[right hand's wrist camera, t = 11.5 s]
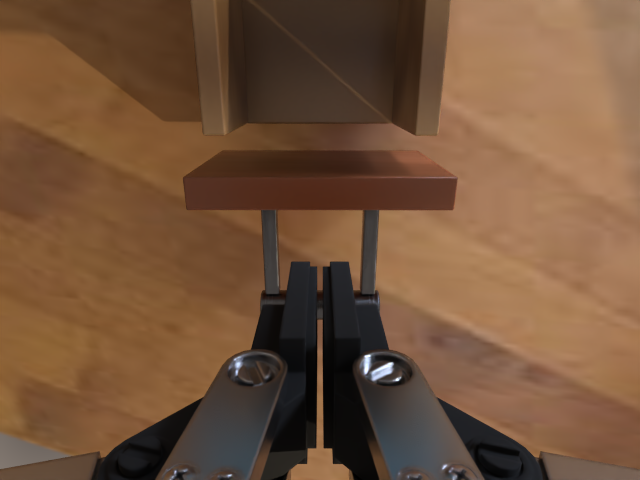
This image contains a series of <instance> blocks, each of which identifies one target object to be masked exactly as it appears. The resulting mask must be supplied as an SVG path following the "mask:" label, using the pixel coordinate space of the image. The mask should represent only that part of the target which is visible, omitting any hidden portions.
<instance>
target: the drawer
mask: <svg viewBox="0 0 640 480" xmlns="http://www.w3.org/2000/svg"><path fill="white" fill-rule="evenodd" d="M190 3H191V14H192V25H193V35H194V46H195V56H196V67H197V78H198V88H199V99H200V110H201V120H202V131H203V134H204V135H206V136H224V135H226V134H228V133H230V132H232V131H233V130H235V129H237V128H239V127H241V126H243V125H245V124H247V123H393V124H394V125H396V126H398V127H400V128H402V129H404V130H406V131H408V132H410V133H412V134H414V135H416V136H437V135H438V130H439V120H440V109H441V99H442V89H443V78H444V68H445V58H446V47H447V37H448V27H449V16H450V6H451V0H190ZM457 179H458V178H457V177H456V176H454V175H453V174H451V173H450V172H448V171H447V170H445V169H444V168H442V167H441V166H439V165H438V164H437V163H435V162H434V161H432V160H431V159H429V158H428V157H426V156H425V155H423V154H422V153H420V152H419V151H221V152H220V153H218V154H217V155H215V156H214V157H212V158H211V159H210V160H208V161H207V162H205V163H204V164H202V165H201V166H199V167H198V168H196V169H195V170H193V171H192V172H190V173H189V174H187V175H186V176H184V177H183V183H184V192H185V200H186V209H187V210H261V215H262V235H263V255H264V275H265V290H263V291H262V293H261V301H260V313H261V310H262V306H263V304H285V298H286V292H287V290H280V266H279V239H278V211H277V210H363V220H362V246H361V272H360V290H353V292H354V298H355V304H377V306H378V310H379V313H380V299H379V293H378V291H377V290H375V280H376V261H377V241H378V222H379V210H454V205H455V196H456V188H457ZM317 320H323V290H317Z"/></svg>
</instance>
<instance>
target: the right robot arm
mask: <svg viewBox="0 0 640 480" xmlns="http://www.w3.org/2000/svg"><path fill="white" fill-rule="evenodd" d="M316 431H317V267H310V262H291V267H290V274H289V280H288V286H287V292H286V298H285V304H263V306H262V310H261V313H260V317H259V321H258V325H257V329H256V333H255V336H254V340H253V344H252V348H251V350H247V351H243V352H240V353H238V354H235V355H234V356H232V357H231V358H229V359H228V360H227V361H226V362H225V363H224V364H223V365H222V367H221V369H220V370H219V372H218V374H217V375H216V377H215V379H214V381H213V382H212V384H211V386H210V387H209V389H208V391H207V392H206V394H205V396H204V397H203V398H201V399H199V400H197V401H196V402H194V403H192V404H190V405H188V406H187V407H185V408H183V409H181V410H179V411H177V412H176V413H174V414H172V415H170V416H168V417H167V418H165V419H163V420H161V421H159V422H158V423H156V424H154V425H152V426H150V427H149V428H147V429H145V430H143V431H141V432H140V433H138V434H136V435H134V436H132V437H131V438H129V439H127V440H125V441H124V442H122V443H121V444H119V445H118V446H117V447H115V448H114V449H113V450H112V451H111V452H110V453H109V454H108V455H107V456H106V457H103V458H101V455H100V451H98V452H93V453H87V454H82V455H76V456H71V457H65V458H60V459H54V460H49V461H43V462H38V463H33V464H27V465H22V466H16V467H11V468H5V469H0V480H291V469H292V468H293V467H294V466H295V465H297V464H307V450H308V448H316ZM323 431H324V448H332V451H333V464H343V465H345V466H346V467H347V468H348V469H349V480H640V469H635V468H630V467H624V466H619V465H613V464H608V463H602V462H597V461H591V460H586V459H580V458H575V457H569V456H564V455H558V454H553V453H547V452H542V451H540V455H539V458H537V457H534V456H533V455H532V454H531V453H530V452H529V451H528V450H527V449H526V448H525V447H523V446H522V445H521V444H519V443H518V442H516V441H515V440H513V439H511V438H509V437H508V436H506V435H504V434H502V433H500V432H499V431H497V430H495V429H493V428H491V427H490V426H488V425H486V424H484V423H482V422H481V421H479V420H477V419H475V418H473V417H472V416H470V415H468V414H466V413H464V412H463V411H461V410H459V409H457V408H455V407H453V406H452V405H450V404H448V403H446V402H444V401H443V400H441V399H439V398H437V397H436V396H435V394H434V392H433V391H432V389H431V387H430V386H429V384H428V382H427V381H426V379H425V377H424V375H423V374H422V372H421V370H420V369H419V367H418V365H417V364H416V363H415V362H414V361H413V360H412V359H411V358H409V357H408V356H406V355H405V354H402V353H400V352H397V351H393V350H389V348H388V344H387V340H386V336H385V333H384V329H383V325H382V321H381V317H380V313H379V310H378V306H377V304H355V298H354V292H353V286H352V280H351V274H350V267H349V262H330V267H323Z"/></svg>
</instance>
